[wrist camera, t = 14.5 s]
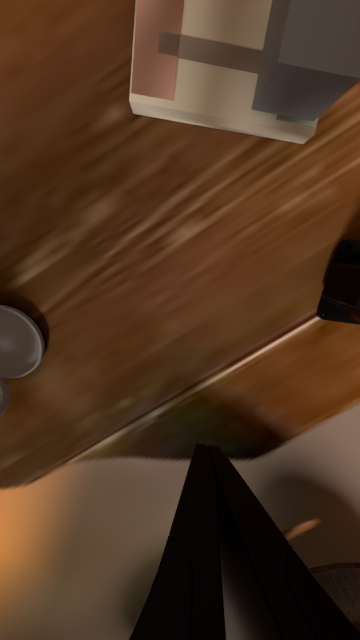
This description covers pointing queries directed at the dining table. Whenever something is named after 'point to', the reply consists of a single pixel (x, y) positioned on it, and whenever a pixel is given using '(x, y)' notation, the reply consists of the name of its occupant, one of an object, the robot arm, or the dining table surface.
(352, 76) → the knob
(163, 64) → the cream flat rectangular block
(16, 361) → the pocket watch
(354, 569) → the barrel
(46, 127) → the dining table surface
